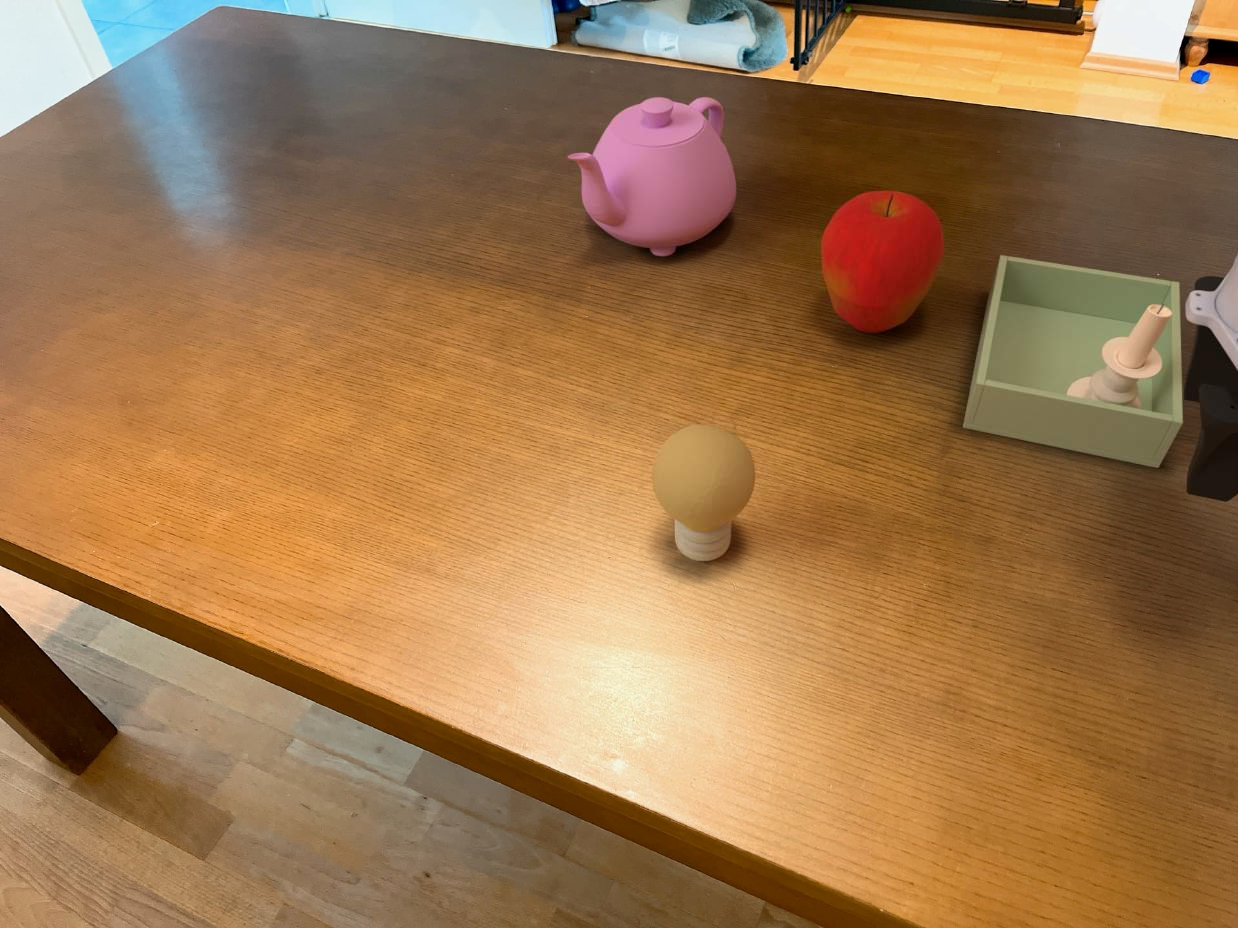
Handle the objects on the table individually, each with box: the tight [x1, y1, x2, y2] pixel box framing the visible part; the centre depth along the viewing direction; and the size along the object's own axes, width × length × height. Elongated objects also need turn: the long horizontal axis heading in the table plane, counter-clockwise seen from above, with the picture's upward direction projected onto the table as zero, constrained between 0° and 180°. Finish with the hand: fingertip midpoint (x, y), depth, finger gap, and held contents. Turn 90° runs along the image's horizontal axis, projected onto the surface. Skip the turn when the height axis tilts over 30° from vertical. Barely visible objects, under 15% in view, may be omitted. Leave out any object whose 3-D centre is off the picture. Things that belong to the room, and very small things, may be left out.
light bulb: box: [651, 423, 756, 562], centre depth 59 cm, size 6×6×10 cm
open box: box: [962, 254, 1184, 469], centre depth 70 cm, size 13×16×4 cm
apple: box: [820, 190, 946, 334], centre depth 73 cm, size 9×9×12 cm
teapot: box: [567, 96, 737, 257], centre depth 84 cm, size 20×14×12 cm
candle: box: [1066, 304, 1172, 409], centre depth 63 cm, size 5×5×10 cm
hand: (1204, 444), depth 52 cm, fingers open, 7 cm apart
